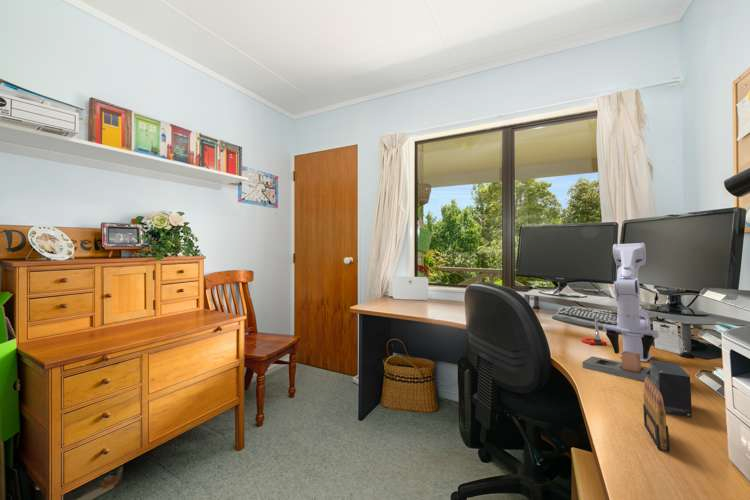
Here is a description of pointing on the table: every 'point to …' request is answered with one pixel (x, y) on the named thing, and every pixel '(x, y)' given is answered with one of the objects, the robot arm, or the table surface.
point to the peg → (631, 361)
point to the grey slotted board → (615, 368)
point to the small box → (672, 387)
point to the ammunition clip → (655, 416)
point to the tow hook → (597, 340)
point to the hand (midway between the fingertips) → (630, 355)
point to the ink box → (668, 338)
